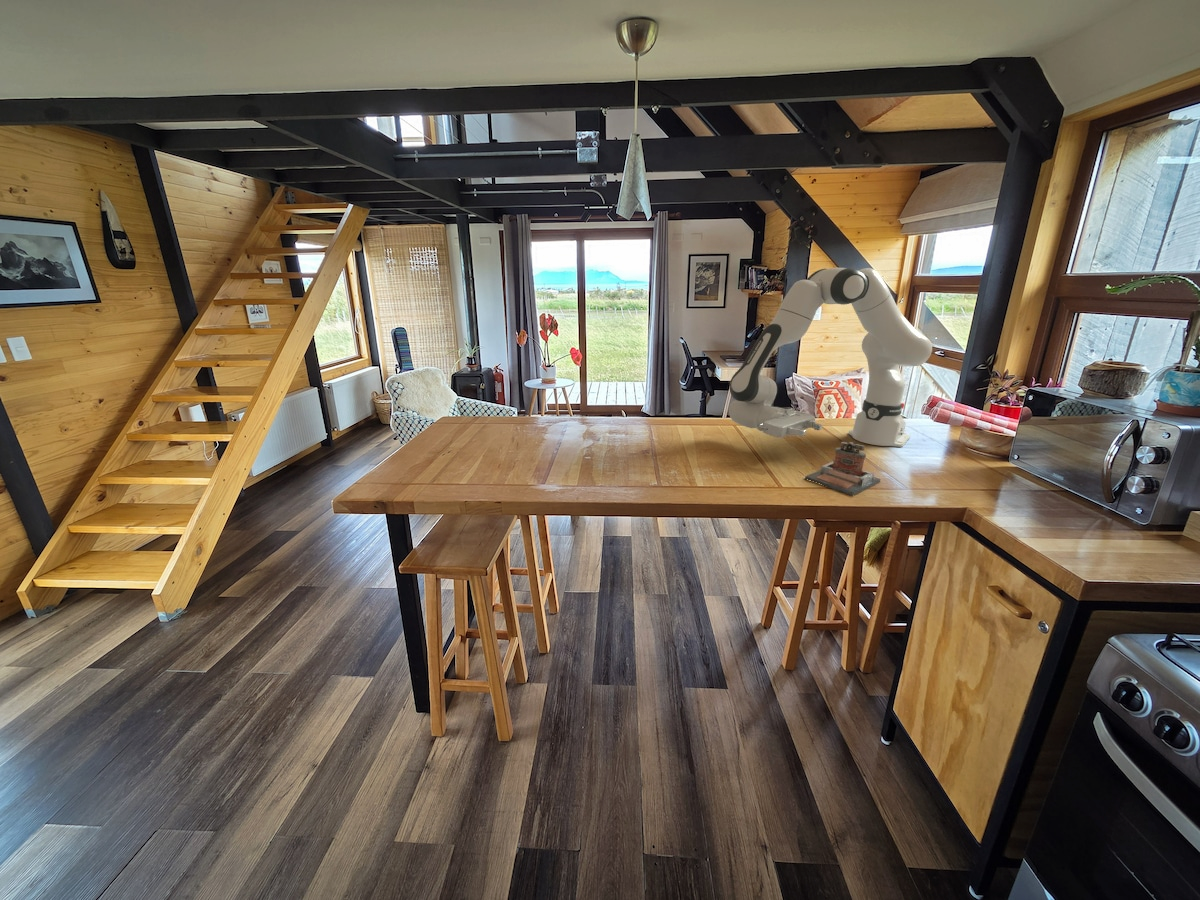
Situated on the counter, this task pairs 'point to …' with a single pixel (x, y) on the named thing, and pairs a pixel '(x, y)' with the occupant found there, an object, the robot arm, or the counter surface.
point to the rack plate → (843, 479)
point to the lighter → (849, 458)
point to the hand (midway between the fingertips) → (812, 430)
